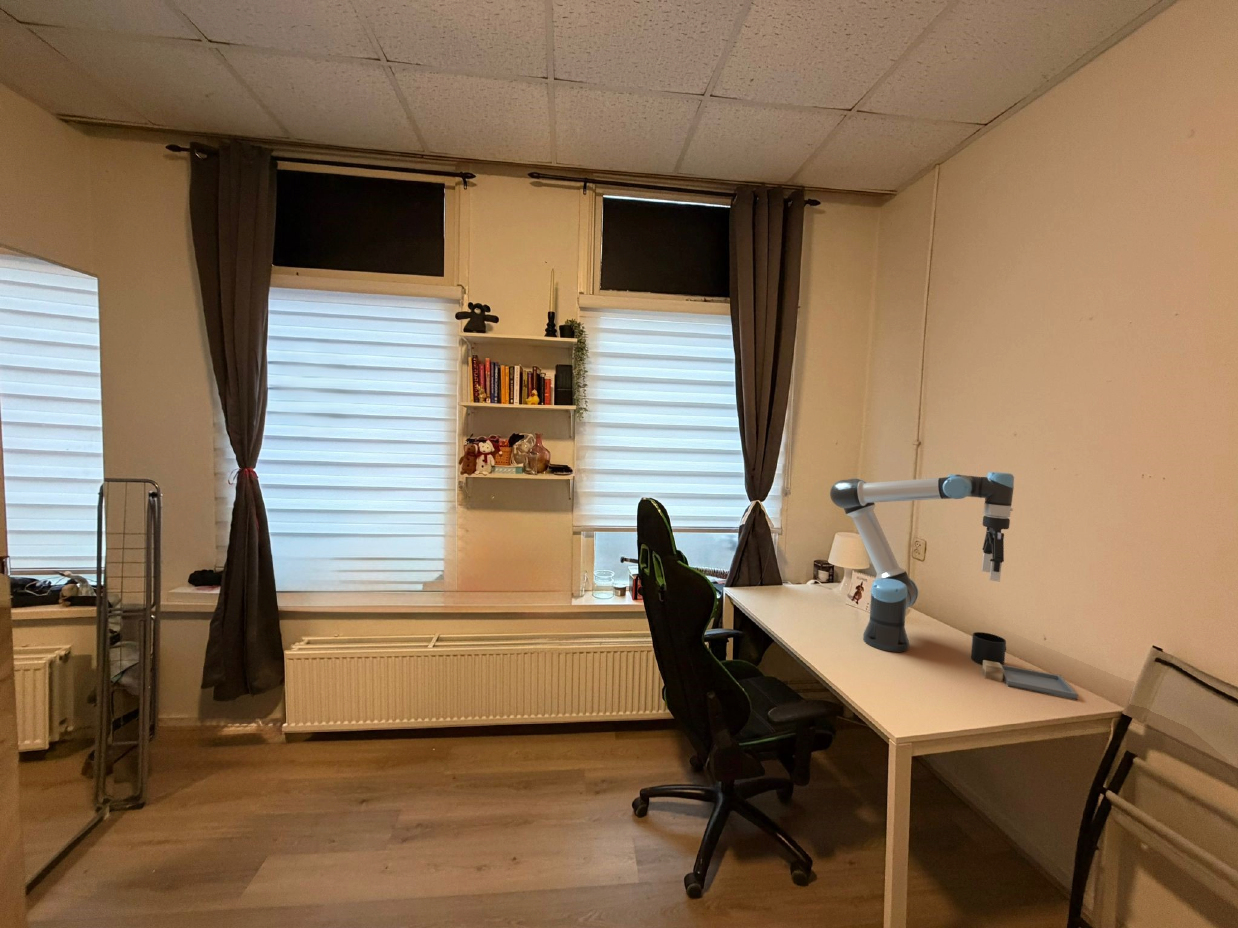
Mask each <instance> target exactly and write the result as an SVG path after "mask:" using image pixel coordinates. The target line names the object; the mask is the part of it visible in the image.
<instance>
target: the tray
mask: <svg viewBox="0 0 1238 928" xmlns="http://www.w3.org/2000/svg"><path fill="white" fill-rule="evenodd" d="M1001 666H1002V667H1003V678H1002V681H1004V683H1005V684H1006V686H1007V687H1009V688H1014V689H1018V690H1024V691H1029V692H1034V693H1039V694H1045V695H1050V696H1055V697H1060V698H1065V699H1069V700H1074V701H1078V695H1079V694H1078V693H1077V692H1076V691H1075V690H1074V688H1073V687H1072V686H1070V684H1069V683H1068V682H1067V681H1066V679H1064V677H1062V675H1061V674H1055V673H1048V672H1046V671H1045V672H1043V671H1039V670H1033V669H1027V668H1023V667H1019V666H1018V667H1017V666H1012V665H1006V664H1004V665H1002V664H1001Z"/></svg>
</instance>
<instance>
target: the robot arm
mask: <svg viewBox="0 0 1238 928" xmlns="http://www.w3.org/2000/svg"><path fill="white" fill-rule="evenodd" d="M1014 483H1015V477H1014V475H1013V474H1012V473H1008V472H998V471H996V472H995V471H989V472H987V475H986V476H974V475H965V474H964V475H963V474H949V475H947V476H946V477H935V478H934V477H933V478H921V479H920V478H919V479H907V480H906V479H905V480H894V481H893V480H892V481H891V480H890V481H879V482H878V481H877V482H876V481H875V482H866V480H865V481H864V480H862V479H860V478H849V479H840V480H838V481H836V482H835V483H834V484H833V485H832V486H831V488H830V491H829V496H830V499H831V501H832V503H833V504H834V505H835V506H837V507H839V508H842V509H843V510H844V512H845V515H846V516H847V517H850V518H851V519H852V521H853V523H854V526H855V528H856V530H857V532H858V534H859V537H860V539H861V541H862V543H863V545H864V548H865V549H866V552H867V554H868V556H869V559H870V561H871V563H872V566H873V568H874V570H875V572H876V576H875V577H874V581H873V582H872V584H871V587H870V594H871V595H870V607H869V621H868V622H867V625H866V627H865V629H864V632H863V636H862V639H863V640H862V641H863V642H864V643H865V642H866V643H865V644H867V645H869V646H870V647H873V648H875V649H879V650H882V651H886V652H894V653H903V652H907V651H908V650H909V649H910V647H909V646H910V642H909V639H908V634H907V630H906V627H905V625H906V624H905V623H906V612H907V609H909V608H910V607H911V606H912V607H913V605H914V604H915V603H916V601H917V600H918V597H919V589H918V585H917V584H916V583H915V582H914V581H913V579H911V578H909V575H908V573H907V571H906V569H904V568H902V567H900V566H899V562H898V561H897V558H896V557H895V554H894V553H893V550H892V548H891V546H890V544H889V541H888V540H887V537H886V535H885V533H884V531H883V528H882V527H881V523H880V522H879V520H878V518H877V516H876V513H875V511H874V509H875V507H876V504H875V503H886V502H887V503H889V502H890V503H891V502H908V501H909V502H911V501H927V500H930V501H931V500H947V499H948V500H951V499H952V500H962V499H965V498H967V497H970V498H979V499H984V505H983V517H982V526H983V527H985V528H986V529H985V530H986V531H985V532H986V533H985V537H984V542H983V546H982V550H983V551H982V552H983V554H982V555H983V556H982V565H981V572H986V573H989V581H992V582H1001V581H1000V580H1001V572H1002V565H1003V564H1002V563H1004V561H1005V555H1004V554H1005V551H1004V549H1005V547H1004V545H1005V544H1004V539H1005V533H1004V532H1003V533H1002V530H1009V529H1010V524H1011V521H1010V517H1011V512H1013V511H1014V509H1013V508H1012V502H1013V495H1014V489H1015V488H1014Z"/></svg>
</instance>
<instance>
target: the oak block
mask: <svg viewBox="0 0 1238 928" xmlns="http://www.w3.org/2000/svg"><path fill="white" fill-rule="evenodd" d="M981 674H982V675H983V677H984V679H986V680H987V679H988V680H991V681H998V682H1002V683H1003V667H1002V666H1001V664H1000V663H998V662H992V661H987V660H983V665H982V670H981Z"/></svg>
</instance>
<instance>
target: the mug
mask: <svg viewBox="0 0 1238 928" xmlns="http://www.w3.org/2000/svg"><path fill="white" fill-rule="evenodd" d="M971 640H972V641H971V649H970V650H971V654H970V659H971V660H972V661H973V662H974V663H976V664H978V665H981V666H983V660H987V661H992V662H998V663H1000V664H1002V665H1005V660H1006V659H1005V658H1006V657H1005V656H1006V652H1007V641H1006V639H1005V638H1003V637H1001V636H999V635H996V634H993V633H988V632H981V631H978V632H977V631H976V632H973V633H972V639H971Z"/></svg>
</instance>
